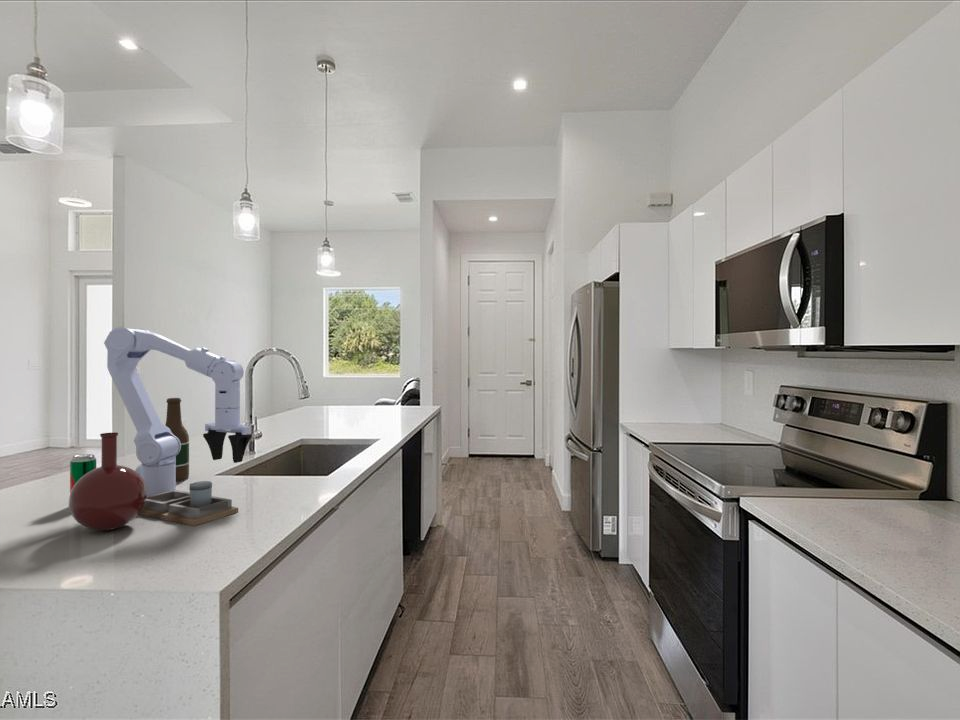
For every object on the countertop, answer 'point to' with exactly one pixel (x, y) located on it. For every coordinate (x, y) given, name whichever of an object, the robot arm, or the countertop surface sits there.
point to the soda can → (80, 467)
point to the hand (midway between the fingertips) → (227, 460)
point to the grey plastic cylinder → (200, 494)
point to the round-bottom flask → (107, 492)
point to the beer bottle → (181, 433)
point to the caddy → (185, 508)
